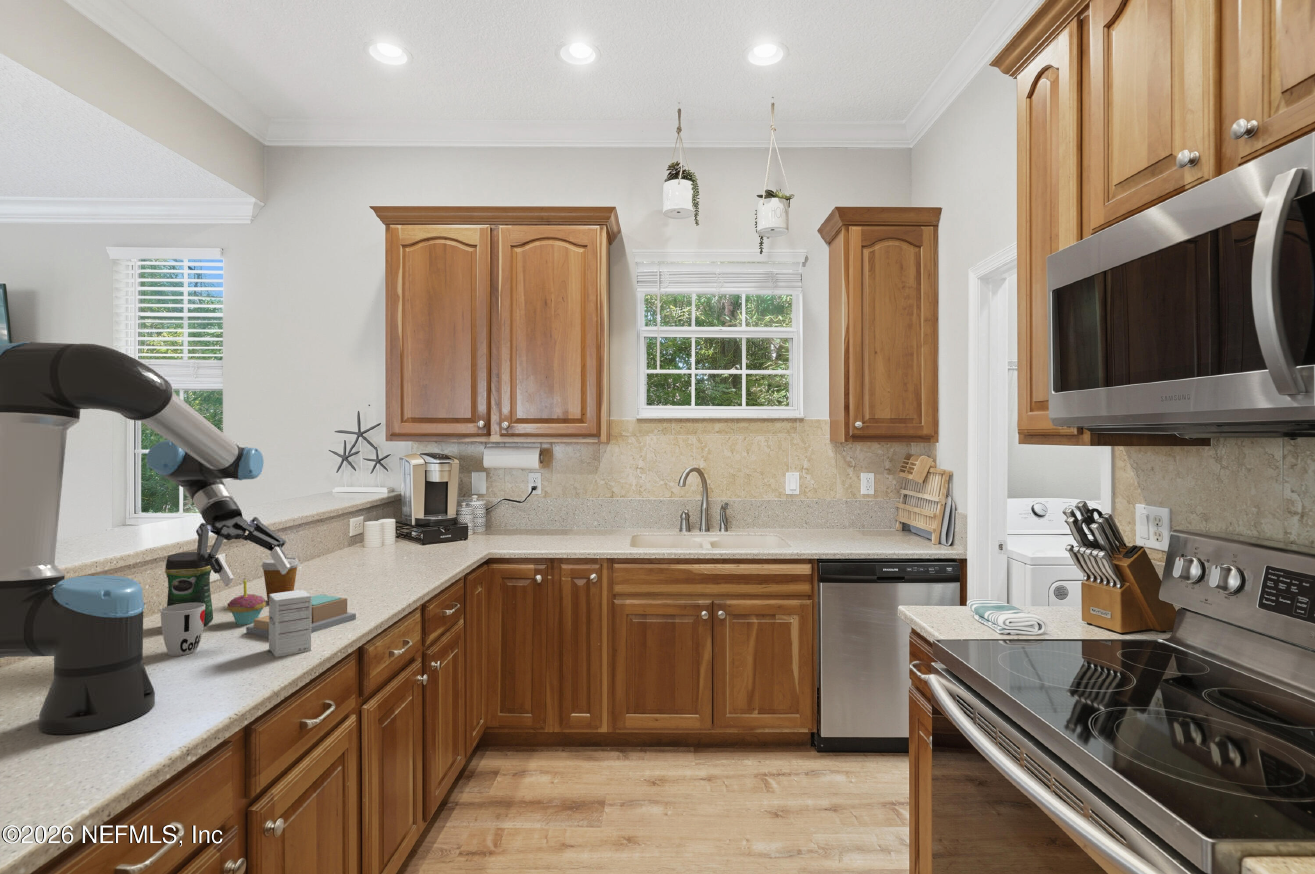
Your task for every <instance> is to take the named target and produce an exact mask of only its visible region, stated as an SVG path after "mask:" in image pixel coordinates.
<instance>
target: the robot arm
mask: <svg viewBox="0 0 1315 874" xmlns="http://www.w3.org/2000/svg"><path fill="white" fill-rule="evenodd" d="M81 410H102V411H107V412H108V411H109V412H114V413H117V414H120V415H121V416H122V417H124V418H126V419H128V420H131V421H137V422H138V421H139V422H142V423H143V424H144V425H146V426H147V427H149V428H150V429H151V430H152V431H155V432H156V433H157V434H159V435H160V436H162V438H165V439H166V440H162V441H158V442H157V443H156V444H154V445H153V446H151V448H150V449H149V450H148V452H147V454H146V458H145V459H146V465H147V466H148V467H149V469H152V470H153V471H154V472H155V473H156V474H158V475H160V476H161V477H164V478H165V479H167V480H169V481H171V482H173V483H174V484H176V485H178V486H180V487H181V488H183V489H184V490H185V491H186V492H187V494H188V496H189V497H190V499H191V500H192V502H193V504H194V506H195V507H196V509H197V511H198V513H199V514H200V515H201V517H202V520H203V521H204V522H201V523H200V524H199V526H198V527H197V529H196V530H195V533H196V536H197V538H198V539H197V546H196V547H197V548H196V552H197V555H196V561H197V562H198V563H201V562H202V561H203V562H204V564H205V565H206V566H209V565H210V567H211V568H212V572H213V573H214V574H217V575H218V576H219V578H220V580H221V582H222V583H223V585H224V587H229V586H230V584H231V583H232V581H233V580H234V579H235V577H234V575H233V573H232V571H231V570H230V568H229V567H228V565H227V563H226V561H225V559H224V558H223V557H222V555H218V553H219V551H220V549H221V546H222V545H223V542H224V540H225V541H232V540H243V541H249V542H251V543H253V544H255V545H257V546H259V547H261V548H263V549H265V550H267V551H270V553H269V556H270V557H271V559H273V560H274V562H275V564H276V565H277V567H278V569H279V570H280V572H281V573H282V574H285V573H286V572H287V571H288V569H289V568H290V565H289V564H288V562H287V560H286V559H285V558H286V557H287V555H286V553H285V552H284V550H283V547H284V546H285V545H286V543H287V540H285V539H284V538H283V537H281V536H280V535H279V534H277V533H276V532H275V531H274V530H272V529H271V528H269V527H268V526H266V525H265V524H264V523H262V521H261V520H260V518H259V517H258V516H254V517H253V518H252V519H249V520H247V519H245V518H244V517H243V514H242V513H243V512H242V509H241V508H240V506H239V504H238V503H237V502H236V501H235V498H234V496H233V495H232V493H231V492H230V489H229V488H228V487H227V486H226V484H225V482H224V481H225V480H226V481H227V480H228V481H243V480H254V479H257V478H259V477H260V475H261V474H262V472H263V469H264V463H265V462H264V461H265V460H264V456H263V453H262V452H261V450H260V449H259V448H256V447H249V446H244V447H241V446H239V445H238V444H237V443H235V441H233V440H232V439H231V438H229V437H228V436H227V435H226V434H225V433H224V432H222V431H221V430H220V429H219V428H217V427H216V426H215V425H213V424H212V423H211V422H210V421H209V420H208V419H206V418H205V417H204V416H203V415H201V414H200V413H199V412H198V411H197V410H196V409H194V408H193V407H191V405H189V404H188V403H186V401H184V400H183V399H182V398H181V397H179V396H178V395H177V394H175V393H174V388H173V385H172V384H171V382H170V381H169V380H167V379H166V378H165V377H163V376H162V375H161V374H160V373H158V371H156V370H154V369H153V368H151V367H150V366H149V365H146V364H145V363H143V362H142V361H141V360H138V359H136V358H134V357H132V356H130V355H128V354H126V353H124V352H122V351H119V350H116V349H114V348H111V347H109V346H106V345H105V346H104V345H101V344H95V343H63V342H61V343H60V342H37V341H36V342H35V341H33V342H32V341H25V342H24V341H23V342H15V343H3V344H0V659H2V658H8V657H9V658H10V657H11V658H18V657H20V658H22V657H25V658H26V657H32V658H33V657H53V679H52V682H51V684H50V687H49V689H48V691H47V695H46V696H45V699H44V702H43V704H42V705H41V706H42V707H41V710H40V712H39V716H38V729H39V731H41V732H42V733H45V734H49V735H74V734H82V733H89V732H93V731H94V732H95V731H98V730H102V729H108V728H111V727H114V726H118V725H122V724H124V723H127V722H130V721H132V720H135V719H137V718H139V717H141V716H143V715H145V714H146V713H148V712H150V711H151V710H152V709H153V708H154V707H155V704H156V692H155V689H154V685H153V684H152V681H151V679H150V676H149V674H148V673H147V670H146V667H145V665H144V661H143V660H144V659H143V657H144V656H143V655H144V652H143V649H144V610H145V602H144V594H143V593H144V592H143V587H142V585H141V584H140V583H139V582H138V581H137V580H135V579H133V578H129V577H124V576H121V575H119V576H118V575H105V574H104V575H100V574H99V575H82V576H74V577H70V578H69V577H68V578H66V573H65V572H64V571H63V570H62V569H60V568H59V567H58V566H57V565H56V564H55V561H56V554H57V553H56V552H57V550H56V549H57V542H58V533H59V531H58V530H59V521H60V511H61V509H60V508H61V498H62V490H63V489H62V488H63V477H64V467H65V457H66V448H67V447H66V446H67V439H68V438H67V436H68V435H67V434H68V430H69V429H70V428H73V427H74V426H75V425H76V424H78V423H80V419H81ZM247 532H248V533H247ZM210 533H212V534H214V535H215V536H216V538H215V540H214V542H213V545H212V547H211V549H210V550H209V552H210V553H209V554H208V553H207V552H208V547H209V537H210V536H209V535H210ZM246 533H247V534H246ZM65 578H66V579H65Z"/></svg>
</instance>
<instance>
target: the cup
mask: <svg viewBox="0 0 1315 874" xmlns="http://www.w3.org/2000/svg"><path fill="white" fill-rule="evenodd" d="M159 610H160V611H159V612H160V625H161V626H160V627H161V632H162V637H163V643H164V646H165V648H166V651H167V653H168V655H169V656H171V657H172V656H173V657H175V656H176V657H179V656H186V655H189V654H193V653H195V652H197V651H198V648H199V646H200V643H201V639H202V635H203V631H204V626H205V625H204V617H205V604H204V603H183V604H176V605H171V606H167V605H166V606H165V607H162V608H161V609H159Z"/></svg>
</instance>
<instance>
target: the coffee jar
mask: <svg viewBox="0 0 1315 874" xmlns="http://www.w3.org/2000/svg"><path fill="white" fill-rule="evenodd" d="M207 553H208V554H209V553H210V551H207ZM196 555H197V551H185V552H177V553H173V554H170V555H168V556H167V558H166V561H165V567H164V568H165V569H164V572H165V576H166V577H167V601H166V607H167V606H171V605H176V604H183V603H204V604H205V617H204V626H208V625H209V624H211V623H212V621H213V620H214V612H213V611H214V610H213V602H212V595H211V580H210V579H211V573H212V572H213V570H212V568H211V567H210V565H209V566H206V565H205V564H204V562H203V561H202V562H201V563H198V562H197V561H196Z"/></svg>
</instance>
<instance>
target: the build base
mask: <svg viewBox="0 0 1315 874" xmlns="http://www.w3.org/2000/svg"><path fill="white" fill-rule="evenodd" d="M356 619H357V613H355V612H349V611H348V598H347V597H341V596H333V595H327V594H315V595H311V634H313V633H315V632H318V631H321V630H325V629H328V628H332V627H334V626H338V625H341V624H345V623H349V622H351V621H352V622H353V621H354V620H356ZM245 629H246V630H245V631H246V634H250V635H255V636H259V637H265V638H269V614H268V615H264V616H261V617H260V616H259V618H256V619H254V623H253V624H252V625H248V626H246V628H245Z"/></svg>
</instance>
